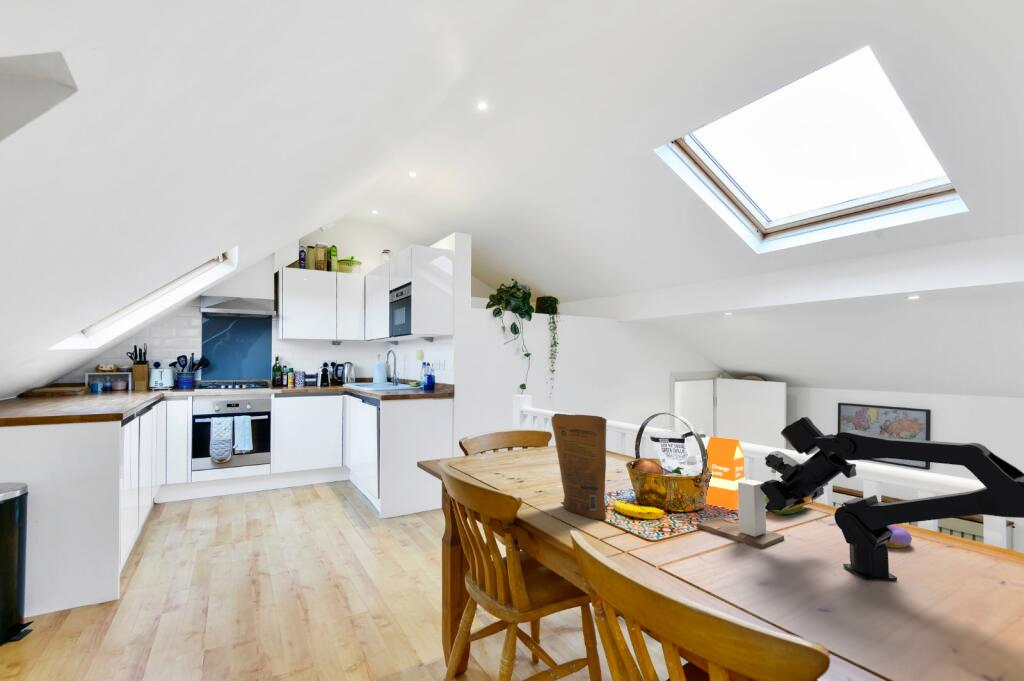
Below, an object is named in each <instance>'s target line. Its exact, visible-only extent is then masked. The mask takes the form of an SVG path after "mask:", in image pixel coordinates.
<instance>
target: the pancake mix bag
mask: <svg viewBox="0 0 1024 681" xmlns="http://www.w3.org/2000/svg"><path fill="white" fill-rule="evenodd" d="M550 421H551V427H552V430H553V436H554V442H555V449H556V453H557V460H558V464H559V465H558V466H559V470H560V479H561V483H562V484H561V485H562V488H563V494H564V497H563V507H562V508H563V510H565V511H567V512H570V513H574V514H575V515H580V516H583V517H586V518H588V519H592V520H607V512H606V501H605V500H606V498H605V496H606V495H605V492H606V471H607V421H608V419H606V418H605V417H603V416H600V415H588V414H569V413H568V414H566V413H554V415H553V416H551V420H550Z"/></svg>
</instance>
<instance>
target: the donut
mask: <svg viewBox="0 0 1024 681" xmlns="http://www.w3.org/2000/svg"><path fill="white" fill-rule="evenodd" d="M887 527H888V528H889V529H890V530H891V531H892V532H893V535H892V537H891V540H890V541H889V542H886V543H884V544H886V547H887V548H890V547H891V548H892V549H903V548H907V547H909V546H910V545H911V543H912V539H913V538H912V536H911V533H910V532H909V531H908V530H907V529H906V528H903V527H899V526H897V525H894V524H892V525H889V526H887ZM891 548H890V549H891Z"/></svg>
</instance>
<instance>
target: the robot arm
mask: <svg viewBox="0 0 1024 681" xmlns="http://www.w3.org/2000/svg"><path fill="white" fill-rule="evenodd" d="M780 434H781V436H782V437H783V438H784V439H785V440H786V441H787V442H788V443H789V445H790V446H791V447H792V448H793V449H794V450H795V451H796V452H797V453H798V454H799V455H803V454H805V455H806V456H810V455H812V454H813V455H812V456H811V457H809V458H807V460H805V461H804V462H802V463H800V462H798V461H797V460H796V459H794V458H792V457H791V456H789V455H788V454H786V453H784V452H783V451H779V450H775V451H770V453H769V454H768V455H767V456H765V457H764V460H765V464H764V465H765V466H766V467H767V468H771V469H772V470H775V471H776V472H777V473H779V474H780V477H779V478H780V479H781V481H780V480H778V479H769V480H766V481H763V482H764V483H763V484H762V485H760V489H761V490H762V492H763V493H764V494H765V496H767V498H768V499H769V502H768V503H767V505H766V504H765V508H766V512H771V511H774V510H779V511H782V510H785V509H787V508H791V507H794V506H797V505H800V504H803V503H805V501H804V499H805V498H808V497H811V496H812V497H811V500H816V499H819V498H820V497H821V496H823V495H824V494H825V491H824V488H825V487H826V486H828V485H829V482H831V481H832V480H833V479H835V478H836V477H837V476H839V475H840V474H841V473H842V475H843V476H844V477H845V478H847V479H850V478H853V477H856V476H857V469H856V467H857V464H855V463H851V462H848V461H862V460H863V461H864V460H867V461H868V460H877V459H878V460H879V459H892V460H904V461H914V462H925V463H934V464H945V465H954V466H962V467H964V468H966V469H967V470H968V471H969V472H971V474H973V475H974V477H975V478H976V479H977V480H979V482H980V483H981V484H982V485H983V486H984V487H982V488H979V489H975V490H970V491H964V492H963V491H962V492H956V493H948V494H943V495H942V494H941V495H936V496H930V497H929V496H928V497H922V498H915V499H907V500H901V501H900V500H899V501H894V502H893V501H892V502H885V501H883V502H882V501H879V500H878V496H877V495H876V494H875V495H871V496H869V497H864V498H861V497H855V498H852V499H849V500H847V501H843V502H842V504H843V505H842V506H839V507H838V508H836V510H835V512H834V515H833V516H834V517H833V518H834V521H835V524H836V525H837V528H839V529H840V530H841V532H842V534H843V537H844V540H845V543H846V544H848V545H849V563H843V566H842V567H844V568H845V569H847V570H848V571H850V572H851V573H853V574H855V575H856V576H858V577H860V578H861V579H862V580H865V581H897V580H898V577H897V576H895V575H894V574H893V573H891V572H890V570H889V569H890V567H889V566H890V564H889V562H890V561H889V547H886V544H884V543H886V542H889V541H890V540H891V537H892V535H893V532H892V531H891V530H890V529H889V528H888V527H887V526H889V525H899V524H908V523H917V522H925V521H926V522H927V521H928V522H929V521H936V520H946V519H954V518H963V517H970V516H971V517H972V516H981V515H982V516H990V517H991V516H992V517H1000V518H1019V519H1024V472H1023V471H1022V470H1020V469H1019V468H1017V467H1016V466H1015V465H1013V464H1012V463H1010V462H1008V461H1006V460H1005V459H1003V458H1001V457H999V456H998V455H996V453H994V452H992V451H991V450H990V449H988V448H987V446H986V445H983V444H981V443H978V442H966V443H962V442H950V441H935V440H920V439H919V440H918V439H908V438H907V439H906V438H893V437H889V436H888V437H887V436H884V435H881V434H877V433H874V432H870V431H864V430H860V429H851V430H845V431H840V432H838V433H836V434H833V433H831V434H826V435H825V434H824V433H823V432H822V431H821V430H820V428H818V427H817V426H816V425H815V424H814V423H813V421H812V420H811V419H810V418H809V417H808V416H802V417H800V419H798V420H796V421H794V422H792V423H790V424H789V425H786V426H785V427H784V428H783V429H782V430H781V431H780Z"/></svg>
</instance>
